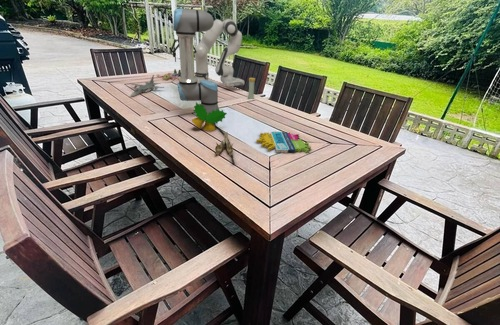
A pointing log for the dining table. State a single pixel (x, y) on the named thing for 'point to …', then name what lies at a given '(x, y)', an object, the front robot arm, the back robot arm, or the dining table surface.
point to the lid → (252, 79)
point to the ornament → (207, 117)
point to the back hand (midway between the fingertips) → (238, 84)
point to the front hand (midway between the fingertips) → (184, 61)
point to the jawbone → (224, 145)
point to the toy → (171, 75)
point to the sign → (283, 142)
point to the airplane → (145, 87)
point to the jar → (251, 90)
